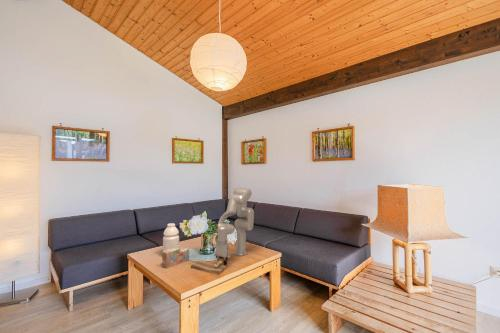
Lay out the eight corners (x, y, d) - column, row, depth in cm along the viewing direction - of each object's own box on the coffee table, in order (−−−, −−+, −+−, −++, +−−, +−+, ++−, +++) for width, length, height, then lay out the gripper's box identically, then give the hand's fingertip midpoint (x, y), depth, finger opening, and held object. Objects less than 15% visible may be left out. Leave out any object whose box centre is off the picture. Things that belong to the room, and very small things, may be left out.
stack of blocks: (184, 258, 203) (184, 244, 203) (189, 260, 199) (189, 245, 199) (162, 266, 187) (162, 251, 187) (166, 268, 183) (166, 253, 183)
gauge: (220, 263, 191) (220, 256, 191) (226, 264, 189) (226, 257, 189) (212, 269, 180) (212, 261, 180) (218, 270, 178) (218, 263, 178)
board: (199, 262, 194) (199, 260, 194) (226, 268, 184) (226, 266, 184) (190, 267, 184) (190, 265, 184) (219, 274, 174) (219, 271, 174)
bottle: (159, 257, 205) (159, 225, 205) (168, 251, 218) (169, 221, 218) (173, 259, 201) (173, 226, 201) (182, 253, 215) (182, 222, 214)
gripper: (233, 242, 188) (233, 264, 188) (215, 239, 195) (215, 261, 195) (229, 245, 181) (229, 268, 181) (210, 241, 188) (210, 264, 188)
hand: (222, 264), depth 188 cm, fingers closed on gauge, 5 cm apart
